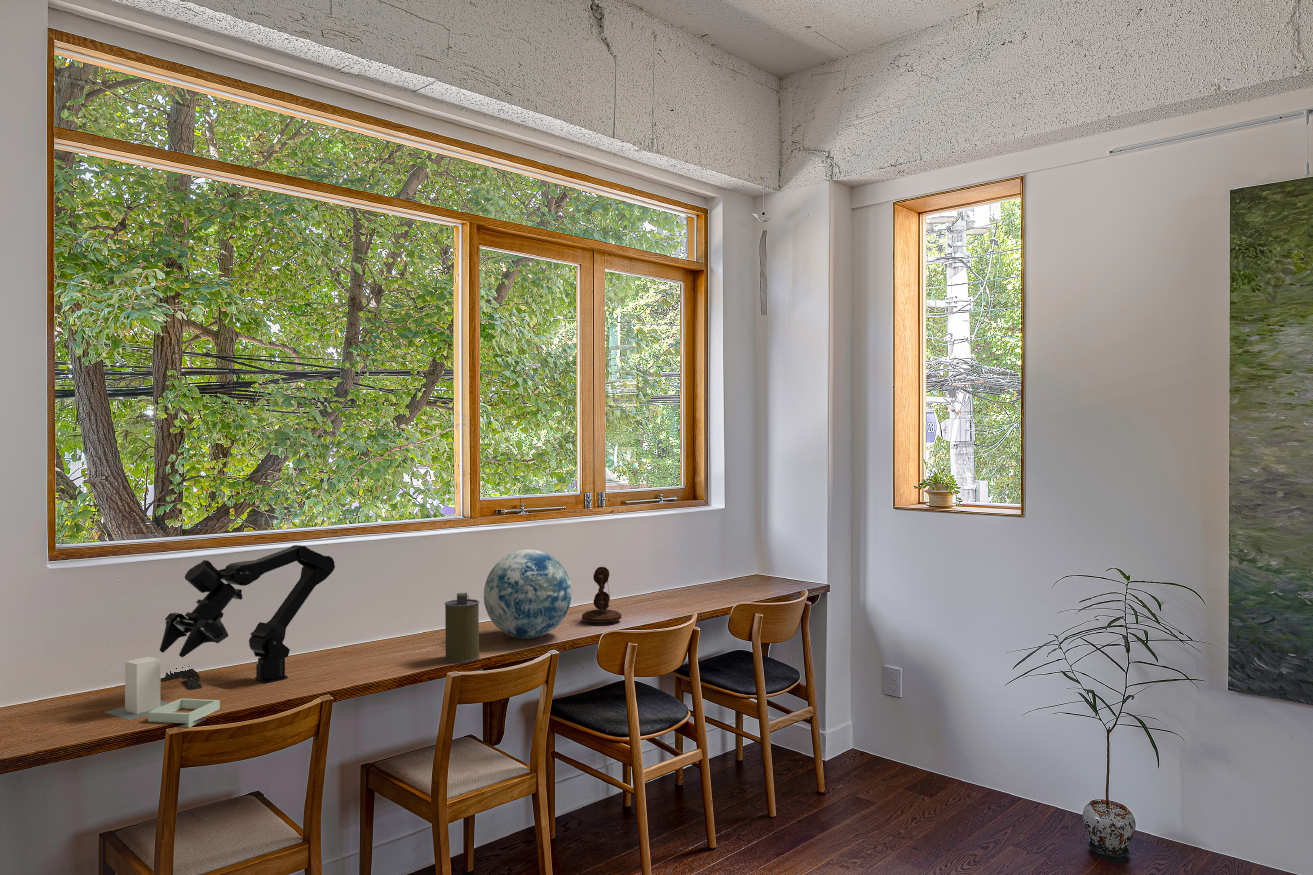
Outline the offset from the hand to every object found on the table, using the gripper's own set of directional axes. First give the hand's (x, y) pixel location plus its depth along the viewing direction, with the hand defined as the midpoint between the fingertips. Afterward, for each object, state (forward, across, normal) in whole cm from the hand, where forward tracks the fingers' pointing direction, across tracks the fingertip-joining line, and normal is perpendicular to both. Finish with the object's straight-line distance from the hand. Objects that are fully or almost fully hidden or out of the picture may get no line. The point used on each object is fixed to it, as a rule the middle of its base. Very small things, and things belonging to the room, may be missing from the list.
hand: (170, 653), depth 207 cm
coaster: (+14, 0, -5) cm, 15 cm away
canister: (-41, -30, -60) cm, 79 cm away
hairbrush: (+1, +15, -18) cm, 24 cm away
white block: (+13, 0, -4) cm, 14 cm away
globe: (-64, -30, -82) cm, 108 cm away
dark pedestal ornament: (-87, -37, -105) cm, 142 cm away
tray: (+12, -14, -7) cm, 19 cm away
